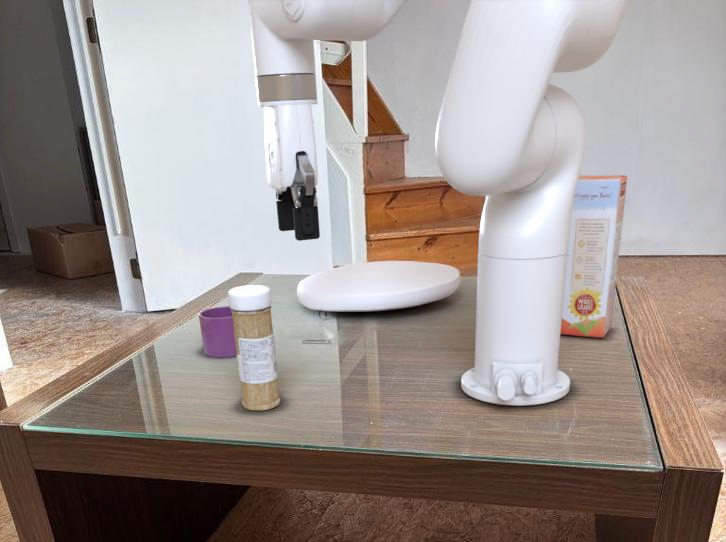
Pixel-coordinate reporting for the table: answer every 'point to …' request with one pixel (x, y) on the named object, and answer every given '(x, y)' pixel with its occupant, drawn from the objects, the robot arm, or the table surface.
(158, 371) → the table surface
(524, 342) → the robot arm
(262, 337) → the spice jar
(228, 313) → the cup
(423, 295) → the plate
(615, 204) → the cracker box
